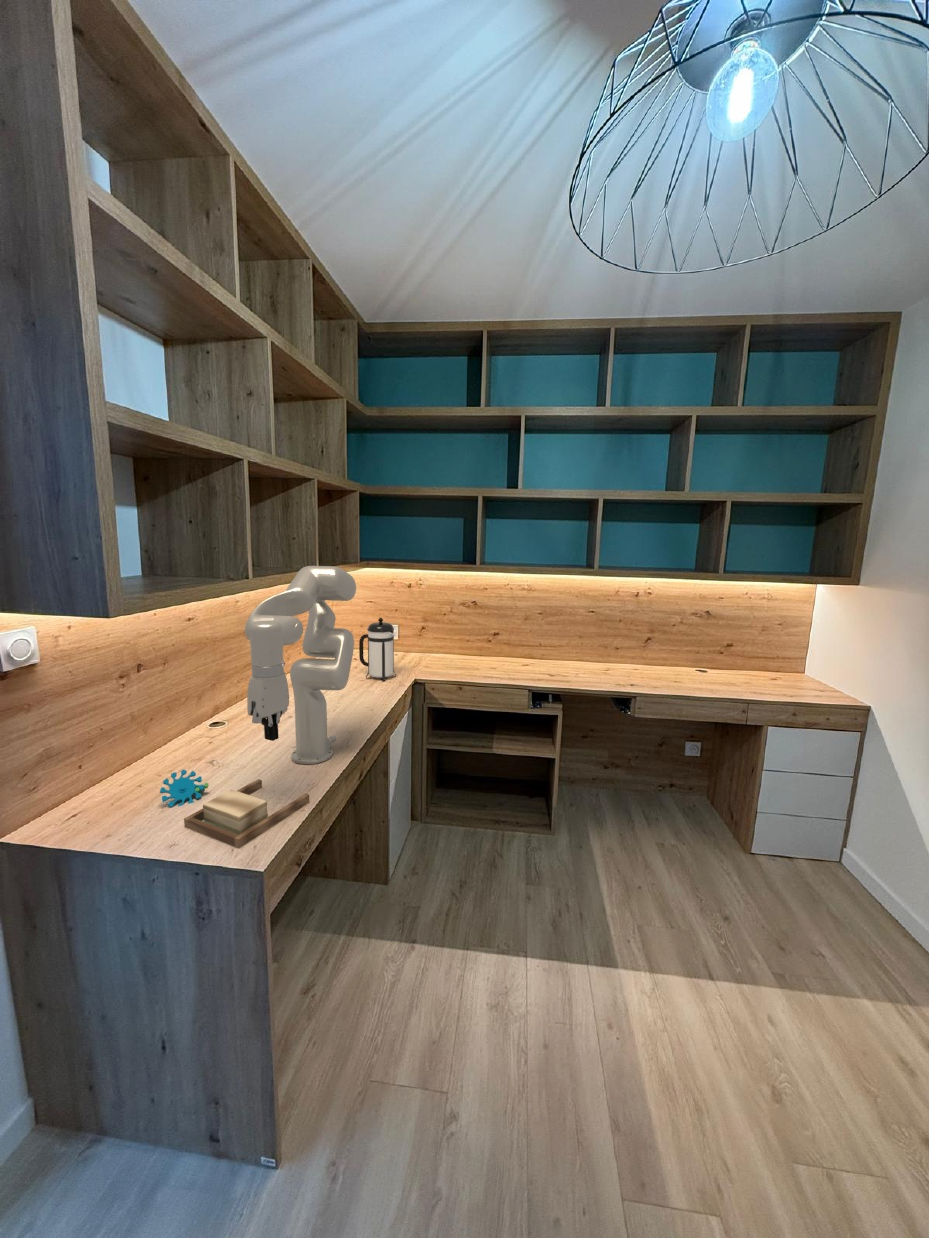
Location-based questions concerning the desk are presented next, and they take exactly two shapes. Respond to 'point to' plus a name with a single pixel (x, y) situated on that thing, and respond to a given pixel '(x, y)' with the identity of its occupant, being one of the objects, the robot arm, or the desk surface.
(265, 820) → the bay
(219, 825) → the cream hardcover book
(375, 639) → the coffee press
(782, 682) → the desk surface
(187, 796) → the blue spiky virus toy
